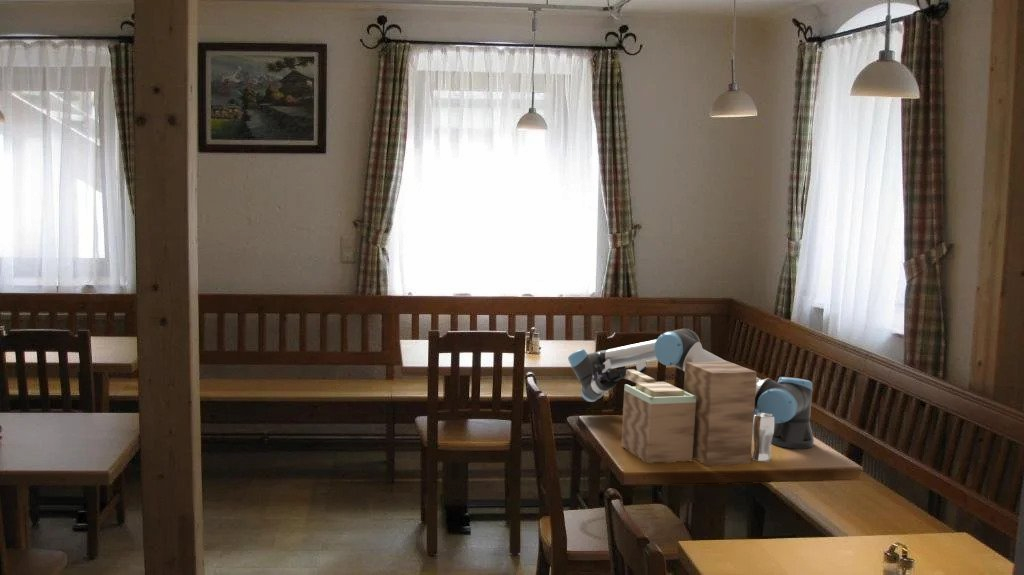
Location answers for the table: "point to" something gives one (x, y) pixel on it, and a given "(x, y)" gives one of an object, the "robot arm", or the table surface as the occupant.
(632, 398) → the wooden box
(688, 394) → the tray
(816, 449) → the table surface
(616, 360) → the robot arm
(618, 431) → the table surface
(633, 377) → the cream cross-shaped block
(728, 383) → the tall crate
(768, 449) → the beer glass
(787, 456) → the table surface
